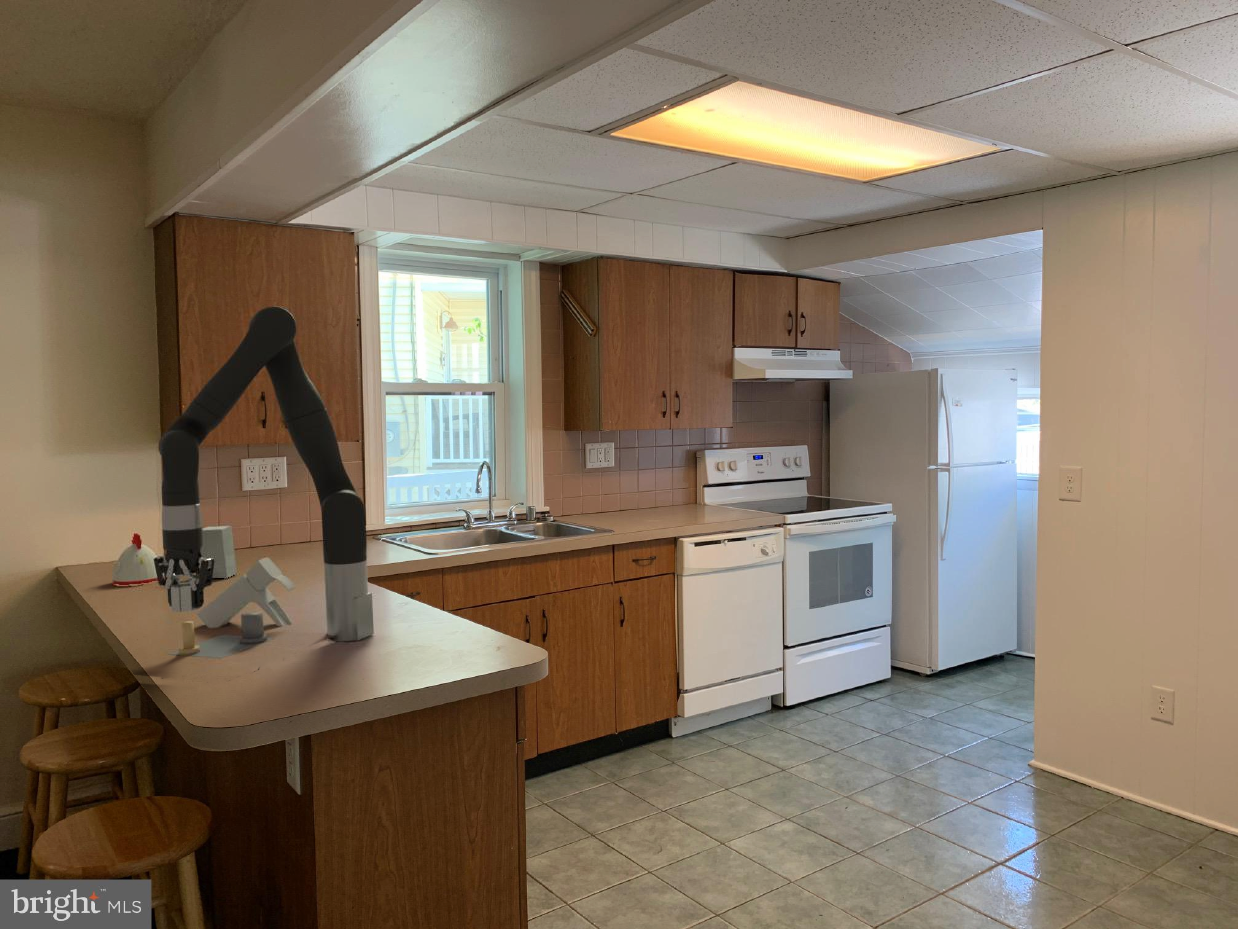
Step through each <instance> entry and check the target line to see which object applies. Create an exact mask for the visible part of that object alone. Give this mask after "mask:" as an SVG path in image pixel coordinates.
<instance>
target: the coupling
mask: <svg viewBox="0 0 1238 929" xmlns="http://www.w3.org/2000/svg"><path fill="white" fill-rule="evenodd" d="M196 583H197V582H196ZM197 584H198V583H197ZM192 591H193V590H192V588H191V585H190V582H189V581H187V582H179V583H178V584H174V585H171V602H172V607H171V612H177V613H180V612H191V611H196V610H201V609H202V607H199V608H193V607H192Z"/></svg>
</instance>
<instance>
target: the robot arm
mask: <svg viewBox="0 0 1238 929" xmlns="http://www.w3.org/2000/svg"><path fill="white" fill-rule="evenodd" d="M297 330H298V329H297V322H296V319H295V317H294V316H293V314H292V313H291V312H289V310H287V309H286V308H283V307H281V306H266V307H264V308H261V309H260V310H259V311H257V312H256V313H255V315H253V317H252V318H251V319H250V321H249V323H248V330H247V332H246V334H245V336H244V337H243V339H242V341H241V342H240V344H239V346H237V348H236V350H235V351H233V354H231V356H230V357H229V359H228V360H227V361H226V362H225V363H224V364H223V365H222V366H221V367H220V368H219V369H218V371H217V372H215V373H214V375H213V376H212V377H211V378H210V379H209V380H208V381H207V383H206V384H205V385H204V386H203V387H202V388H201V389H200V391H199V392H198V393H197V395H196V396H195V397H194V398H193V399H192V401H190V403H189V405H188V406H187V408H186V409H185V411H184V412H183V413H182V414H181V415H180V416H179V417H178V418H177V419H176V420H175V421H174V422H173V423H172V424H171V425H170V427H168V429H167V430H166V431H165V432H164V433H163V435H162V436H161V438H160V439H159V442H158V452H159V454H160V456H161V460H162V473H163V474H162V475H163V479H162V482H161V500H162V501H161V502H162V508H161V531H162V532H161V535H162V548H163V550H164V551H166V552H165V555H161V556H157V557H156V558H154V564H155V569H156V574H157V579H158V583H157V584H158V585H159V586H164V587H165V589H166V590H167V602H168V604H169V607H171V608H172V602H171V585H174V584H178V583H179V584H180V583H181V578H183V576H184V577H185V580H186V581H187V582H190V585H191V588H192V590H193V591H192V607H193V608H199V607H201V608H202V607H203V605H204V602H205V595H204V590H205V588H207V587H211V586H212V584H213V579H212V577H213V569H214V559H213V558H209V559H207V558H203V556H202V554H201V551H200V550H201V547H202V546H203V533H202V529H203V520H202V519H203V516H202V509H201V504H200V503H201V502H200V486H199V485H200V484H199V468H200V448H199V447H200V445H202V443H203V442H204V440H205V439H206V438H207V436H209V434H210V433H211V432H212V431H214V430H216V429H217V427H218V426H220V425H221V423H222V422H223V421H224V419H225V418H226V417H227V416H228V414H229V413H230V412H231V410H232V409H233V408H234V407H235V405H236V404H237V403H238V401H239V400H240V399H241V398H242V396H243V394H244V393H245V391H246V390H247V389H248V387H249V386H250V384H251V383H252V382H253V380H254V379H255V378H256V377H257V375H258V374H259V373H260V372H261V370H262V369H263V368H264V367H265V369H266V372H267V373H268V375H269V378H270V380H271V384H272V386H273V390H274V393H275V398H276V400H277V403H278V407H279V410H280V413H281V415H282V418H283V421H284V424H285V427H286V428H287V431H288V435H289V437H290V438H291V441H292V443H293V445H294V447H295V449H296V451H297V453H298V455H299V456H300V459H301V460H302V462H303V463H304V465H305V466H306V468H307V470H308V471H309V474H310V475H311V478H312V482H313V484H314V487H315V489H316V494H317V497H318V501H319V504H320V505H319V506H320V511H321V526H322V527H321V528H322V530H321V531H322V552H323V554H322V555H323V571H324V572H323V573H324V574H323V575H324V594H325V596H324V597H325V616H326V618H325V619H326V632H327V636H330V637H328V638H327V640H329V641H333V642H351V641H352V642H353V641H361V640H363V639H365V638H368V637H370V636H372V635H374V634H375V633H374V610H373V609H374V608H373V606H374V605H373V593H371V592H369V589H368V588H369V586H368V585H369V583H368V561H367V559H368V558H367V550H368V549H367V548H368V546H367V521H366V506H365V504H364V502H363V500H362V498H361V497H360V495H359V493H358V492H357V490H356V489H355V487H354V484H353V483H352V481H351V479H350V477H349V475H348V473H347V471H346V469H345V466H344V462H343V460H342V457H341V452H340V446H339V443H338V442H339V441H338V439H337V435H336V431H335V428H334V426H333V423H332V420H331V417H330V415H329V412H328V410H327V407H326V405H325V403H324V402H325V401H323V399H322V396H321V394H320V393H319V391H318V390H317V388H316V386H315V385H314V383H313V382H312V380H311V379H310V377H309V376H308V374H307V373H306V370H305V369H304V367H303V364H302V362H301V360H300V356H299V354H298V350H297V347H296V343H295V338H296V336H297ZM163 573H164V577H163ZM197 583H198V584H197Z"/></svg>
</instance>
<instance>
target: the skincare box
mask: <svg viewBox="0 0 1238 929" xmlns="http://www.w3.org/2000/svg"><path fill="white" fill-rule="evenodd" d="M232 527H233V526H232V525H222V526H221V525H220V526H206V527H204V528H203V527H202V533H203V546H202V547H201V550H200V551H201V554H202V556H203V558H207V559H209V558H213V559H214V569H213V577H212V578H224V579H229V578H231V576H232V577H234V576H233V575H235V574H236V575H237V574H238V572H237V571H238V570H237V561H236V554H235V546H234V536H233V529H232ZM236 575H235V576H236ZM228 577H229V578H228Z"/></svg>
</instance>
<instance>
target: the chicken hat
mask: <svg viewBox="0 0 1238 929" xmlns="http://www.w3.org/2000/svg"><path fill="white" fill-rule="evenodd" d="M156 557H158V556H157V554H156V553H155V552H154V551H153V550H152V549H151V548H149V547H148V546H147V545H145V544H142V539H141V534H139V533H133V536H132V539H131V545H129V546H127V548H126V549H124V550H123V551H122V553H121V554H120V555H119V557H118V559H117V561H114V563H113V570H112V572H113V574H112V585H113V584H119V585H129V584H141V583H149V582H152V581H158V579H157V574H156V569H155V564H154V558H156ZM163 577H164V578H165V575H164V573H163Z"/></svg>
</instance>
